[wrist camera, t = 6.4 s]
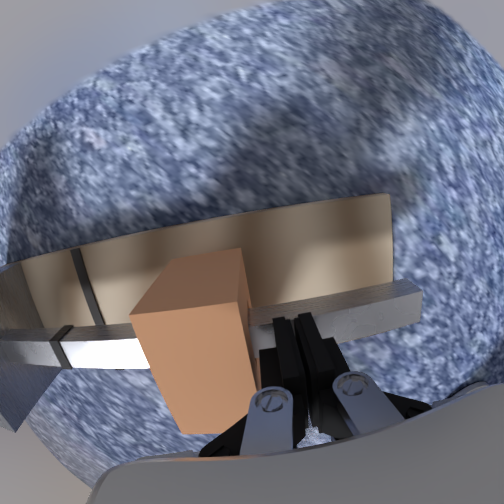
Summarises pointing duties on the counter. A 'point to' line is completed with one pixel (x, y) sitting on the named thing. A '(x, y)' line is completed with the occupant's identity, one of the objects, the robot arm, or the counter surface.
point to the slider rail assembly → (129, 350)
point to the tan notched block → (200, 340)
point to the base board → (218, 239)
